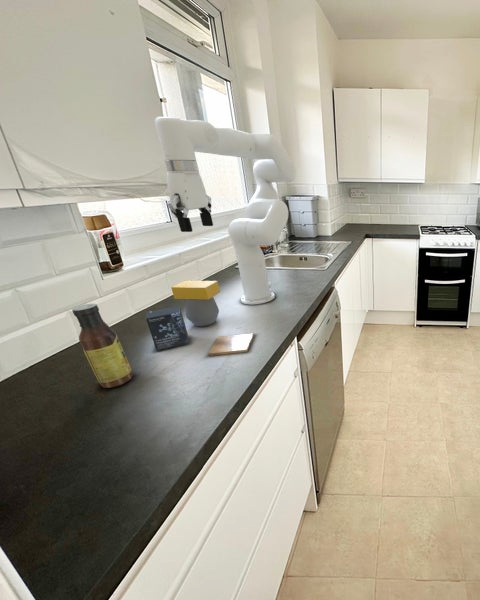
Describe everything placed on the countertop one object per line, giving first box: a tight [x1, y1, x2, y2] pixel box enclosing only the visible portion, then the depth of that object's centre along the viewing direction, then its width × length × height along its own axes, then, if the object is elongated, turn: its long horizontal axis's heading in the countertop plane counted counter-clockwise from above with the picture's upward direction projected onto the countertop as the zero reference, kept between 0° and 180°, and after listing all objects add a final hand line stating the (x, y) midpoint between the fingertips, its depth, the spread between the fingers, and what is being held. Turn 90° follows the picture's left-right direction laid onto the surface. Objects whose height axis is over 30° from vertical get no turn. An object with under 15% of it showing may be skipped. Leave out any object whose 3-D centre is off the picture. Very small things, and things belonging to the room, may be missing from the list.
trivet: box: [207, 332, 255, 357], centre depth 92 cm, size 10×10×1 cm
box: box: [145, 305, 190, 352], centre depth 91 cm, size 8×6×11 cm
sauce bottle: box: [71, 303, 133, 389], centre depth 72 cm, size 7×6×20 cm
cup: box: [184, 296, 220, 327], centre depth 104 cm, size 10×9×10 cm
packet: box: [170, 280, 221, 300], centre depth 101 cm, size 6×11×4 cm, turn 88°
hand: (198, 228), depth 95 cm, fingers open, 9 cm apart
